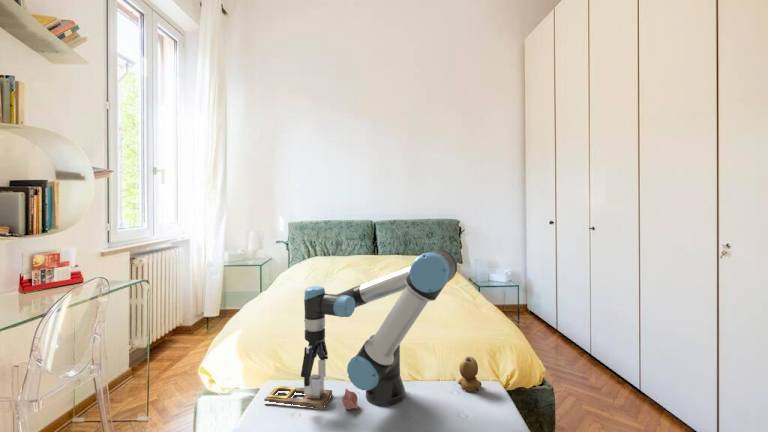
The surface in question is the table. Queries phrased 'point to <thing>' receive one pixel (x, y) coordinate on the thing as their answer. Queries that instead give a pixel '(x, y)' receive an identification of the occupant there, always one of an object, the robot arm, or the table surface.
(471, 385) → the figurine
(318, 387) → the block
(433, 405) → the table surface
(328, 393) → the board
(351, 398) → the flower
